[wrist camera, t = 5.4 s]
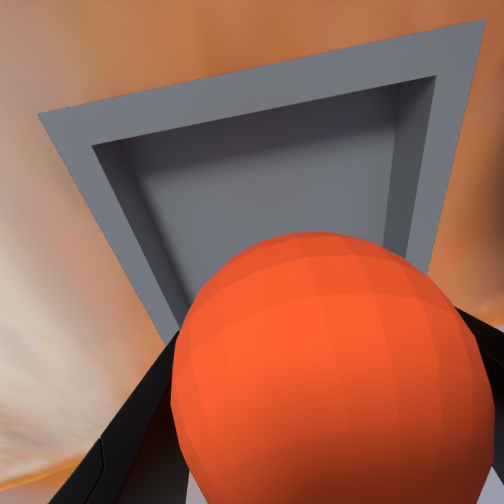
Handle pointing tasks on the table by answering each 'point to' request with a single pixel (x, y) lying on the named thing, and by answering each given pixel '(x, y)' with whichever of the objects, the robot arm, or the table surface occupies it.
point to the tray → (272, 159)
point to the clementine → (330, 381)
